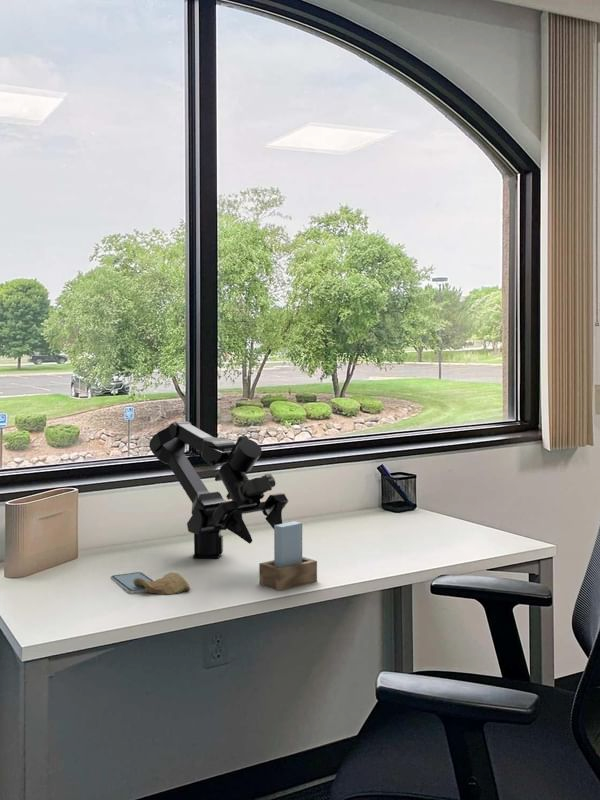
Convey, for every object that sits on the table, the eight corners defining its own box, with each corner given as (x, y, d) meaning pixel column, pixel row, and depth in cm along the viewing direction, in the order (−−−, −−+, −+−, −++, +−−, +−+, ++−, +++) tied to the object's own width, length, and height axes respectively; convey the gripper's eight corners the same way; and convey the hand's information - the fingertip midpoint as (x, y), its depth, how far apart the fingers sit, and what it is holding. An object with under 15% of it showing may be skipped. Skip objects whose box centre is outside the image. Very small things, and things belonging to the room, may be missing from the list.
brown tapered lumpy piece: (168, 586, 176) (128, 583, 170) (173, 567, 176) (133, 563, 170) (192, 601, 167) (150, 599, 161) (197, 581, 168) (155, 578, 162)
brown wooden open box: (279, 590, 167) (279, 569, 167) (259, 583, 172) (259, 563, 172) (316, 580, 174) (316, 560, 174) (296, 574, 180) (296, 555, 179)
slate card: (281, 586, 170) (281, 527, 170) (274, 583, 172) (274, 525, 171) (302, 581, 174) (302, 523, 174) (294, 578, 176) (294, 521, 175)
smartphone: (140, 571, 182) (163, 586, 169) (141, 575, 182) (163, 591, 169) (109, 575, 178) (129, 591, 165) (109, 580, 178) (129, 596, 165)
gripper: (219, 467, 175) (250, 524, 168) (283, 459, 187) (314, 512, 180) (199, 497, 181) (228, 553, 174) (262, 487, 194) (291, 540, 186)
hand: (267, 539), depth 178 cm, fingers open, 9 cm apart
